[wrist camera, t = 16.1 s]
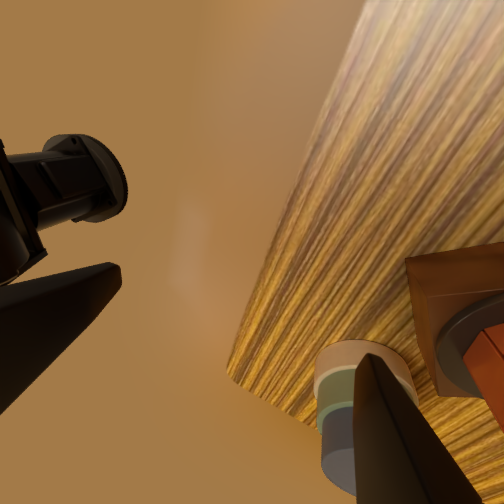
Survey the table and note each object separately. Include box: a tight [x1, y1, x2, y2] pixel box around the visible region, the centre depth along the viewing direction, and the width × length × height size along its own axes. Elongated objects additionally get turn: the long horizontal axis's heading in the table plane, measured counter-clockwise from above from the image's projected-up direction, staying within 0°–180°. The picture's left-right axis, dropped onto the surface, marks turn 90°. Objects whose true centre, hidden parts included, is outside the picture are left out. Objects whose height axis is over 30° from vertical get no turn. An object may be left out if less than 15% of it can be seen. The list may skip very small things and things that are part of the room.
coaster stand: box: [405, 242, 504, 400], centre depth 16 cm, size 9×9×6 cm
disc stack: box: [314, 340, 419, 496], centre depth 21 cm, size 9×9×9 cm
